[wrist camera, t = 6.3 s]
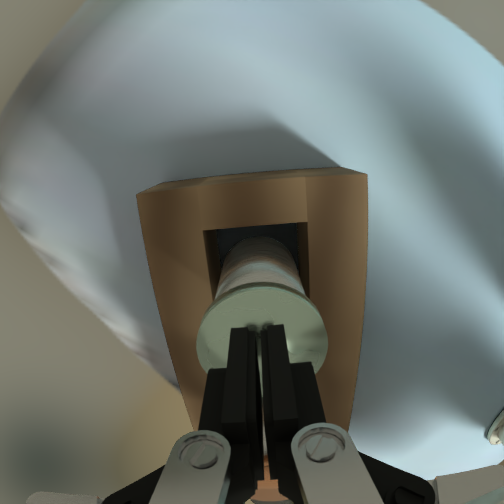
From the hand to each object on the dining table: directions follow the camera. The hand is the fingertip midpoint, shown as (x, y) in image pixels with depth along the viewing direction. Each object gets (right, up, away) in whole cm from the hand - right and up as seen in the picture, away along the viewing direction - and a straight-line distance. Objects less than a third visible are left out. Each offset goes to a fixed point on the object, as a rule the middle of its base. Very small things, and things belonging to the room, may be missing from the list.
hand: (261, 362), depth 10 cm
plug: (0, +3, +8) cm, 8 cm away
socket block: (+1, -5, +15) cm, 16 cm away
